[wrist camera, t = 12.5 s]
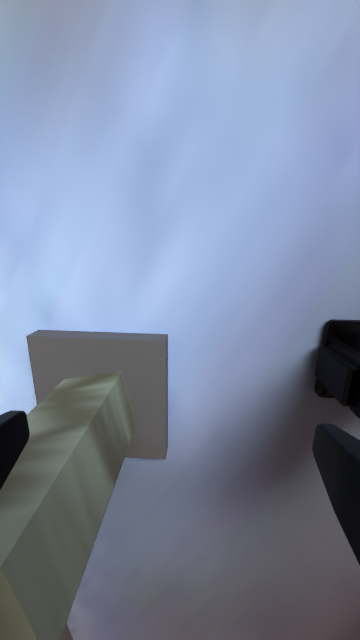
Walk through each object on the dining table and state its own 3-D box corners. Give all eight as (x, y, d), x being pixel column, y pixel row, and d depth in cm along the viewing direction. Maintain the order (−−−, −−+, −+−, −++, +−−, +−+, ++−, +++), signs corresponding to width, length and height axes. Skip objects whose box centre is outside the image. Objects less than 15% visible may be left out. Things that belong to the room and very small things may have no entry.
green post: (122, 371, 20) (0, 567, 8) (136, 424, 22) (50, 666, 9) (63, 379, 21) (-137, 573, 8) (80, 430, 22) (-72, 666, 10)
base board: (167, 334, 21) (165, 341, 19) (167, 445, 24) (165, 459, 22) (38, 329, 22) (26, 336, 20) (54, 438, 25) (44, 451, 23)
